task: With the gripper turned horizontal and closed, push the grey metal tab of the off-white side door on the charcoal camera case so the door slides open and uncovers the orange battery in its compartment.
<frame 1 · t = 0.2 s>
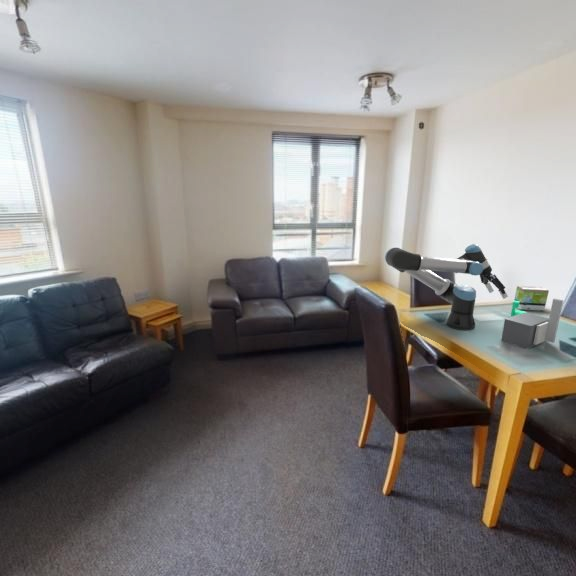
hand: (498, 294, 198), 15 cm above the table, tool tilted 35°, fingers open, 13 cm apart
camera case: (523, 340, 168), on the table
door: (548, 322, 157), point 13 cm above the table, slide at 0.0 cm
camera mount: (517, 317, 204), on the table
tea box: (528, 308, 220), on the table
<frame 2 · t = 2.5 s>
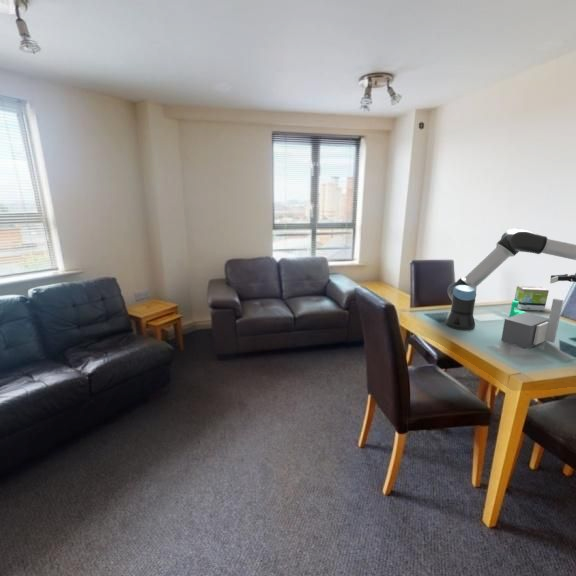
hand: (567, 282, 160), 31 cm above the table, tool horizontal, fingers open, 13 cm apart
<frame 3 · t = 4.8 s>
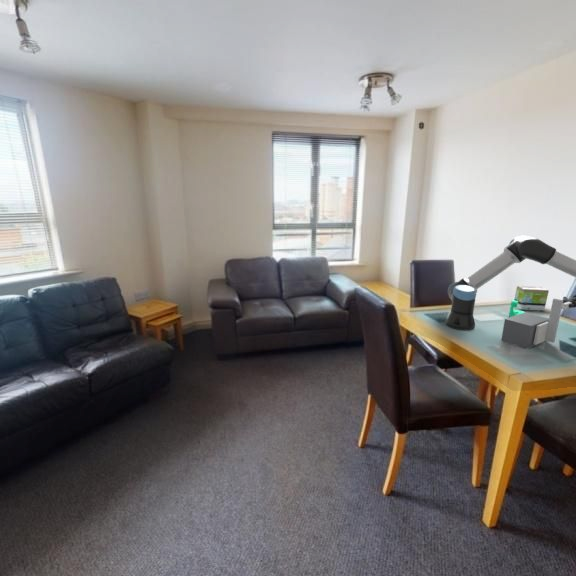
hand: (564, 306, 161), 19 cm above the table, tool horizontal, fingers closed
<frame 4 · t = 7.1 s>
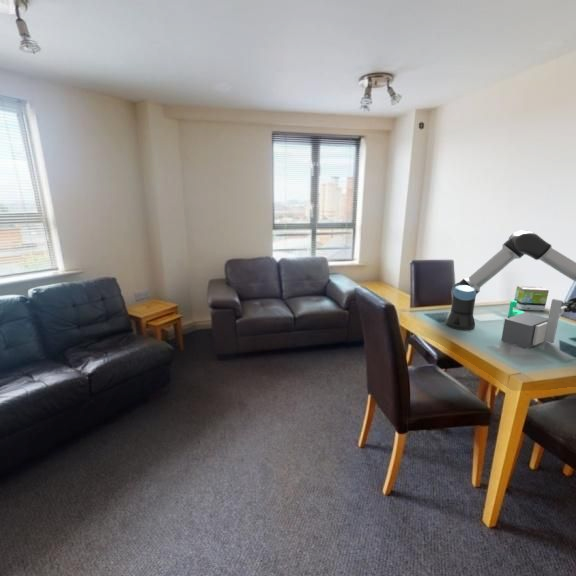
hand: (559, 311, 157), 19 cm above the table, tool horizontal, fingers closed
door: (547, 322, 157), point 13 cm above the table, slide at 1.0 cm, touching gripper
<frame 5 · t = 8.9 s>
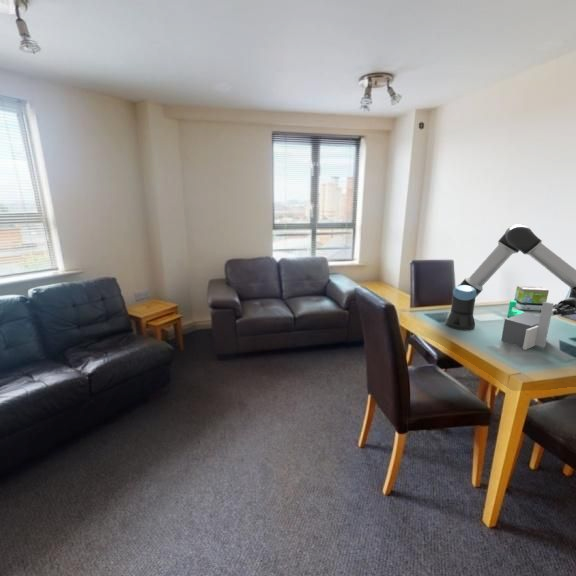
hand: (548, 313, 153), 18 cm above the table, tool horizontal, fingers closed
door: (537, 326, 152), point 13 cm above the table, slide at 10.3 cm, touching gripper
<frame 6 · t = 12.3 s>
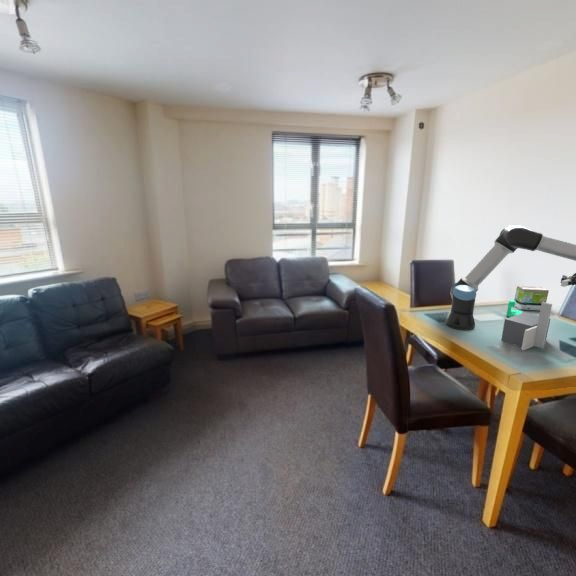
hand: (563, 283, 155), 32 cm above the table, tool horizontal, fingers closed
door: (536, 327, 152), point 13 cm above the table, slide at 11.6 cm
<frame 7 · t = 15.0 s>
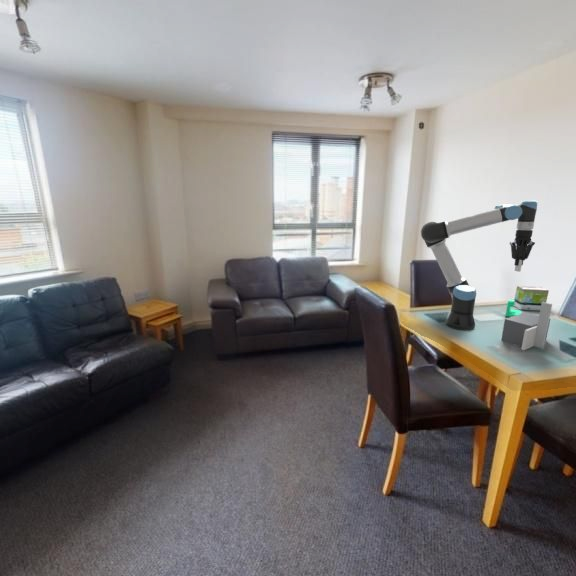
hand: (517, 271, 183), 32 cm above the table, tool pointing down, fingers closed
at the end: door slide at 11.6 cm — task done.
